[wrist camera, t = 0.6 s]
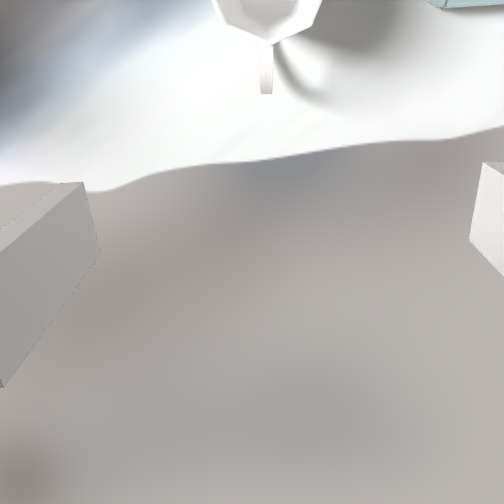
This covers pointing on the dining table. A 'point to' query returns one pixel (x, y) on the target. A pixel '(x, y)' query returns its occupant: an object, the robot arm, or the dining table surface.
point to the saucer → (463, 3)
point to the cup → (266, 25)
